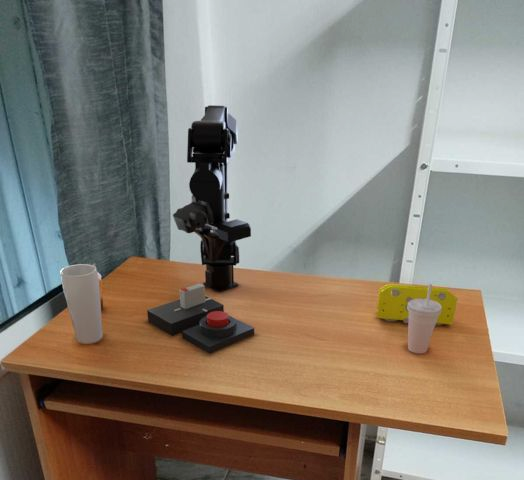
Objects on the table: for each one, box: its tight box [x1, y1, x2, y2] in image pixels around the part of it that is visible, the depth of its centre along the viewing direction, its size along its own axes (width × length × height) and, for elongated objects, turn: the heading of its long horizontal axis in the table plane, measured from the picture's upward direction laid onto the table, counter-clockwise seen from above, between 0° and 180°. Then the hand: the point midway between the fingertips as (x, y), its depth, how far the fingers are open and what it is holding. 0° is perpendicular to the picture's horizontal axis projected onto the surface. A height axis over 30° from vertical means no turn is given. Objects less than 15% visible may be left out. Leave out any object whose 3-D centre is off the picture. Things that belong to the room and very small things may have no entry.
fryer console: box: [146, 295, 225, 337], centre depth 117 cm, size 14×10×3 cm
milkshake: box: [93, 263, 104, 313], centre depth 120 cm, size 4×5×10 cm
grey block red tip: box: [179, 283, 206, 309], centre depth 117 cm, size 6×2×4 cm, turn 134°
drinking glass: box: [60, 263, 104, 345], centre depth 106 cm, size 7×7×15 cm
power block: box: [181, 315, 255, 355], centre depth 110 cm, size 12×9×4 cm
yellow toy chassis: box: [376, 283, 458, 326], centre depth 117 cm, size 16×6×8 cm, turn 79°
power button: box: [207, 311, 230, 327], centre depth 109 cm, size 4×4×2 cm
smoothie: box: [407, 283, 442, 354], centre depth 104 cm, size 6×6×14 cm
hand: (213, 261), depth 117 cm, fingers closed
